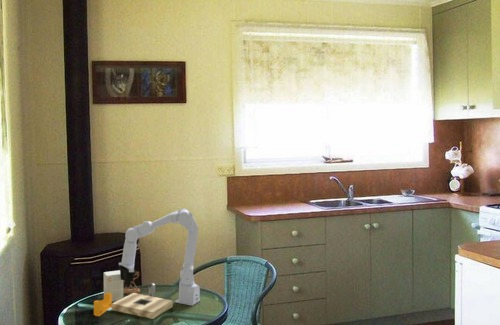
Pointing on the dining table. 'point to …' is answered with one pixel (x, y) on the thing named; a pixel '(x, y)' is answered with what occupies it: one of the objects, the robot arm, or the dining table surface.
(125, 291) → the brown openwork frame
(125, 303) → the block
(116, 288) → the small box
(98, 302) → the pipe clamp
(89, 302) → the dining table surface
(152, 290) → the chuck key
